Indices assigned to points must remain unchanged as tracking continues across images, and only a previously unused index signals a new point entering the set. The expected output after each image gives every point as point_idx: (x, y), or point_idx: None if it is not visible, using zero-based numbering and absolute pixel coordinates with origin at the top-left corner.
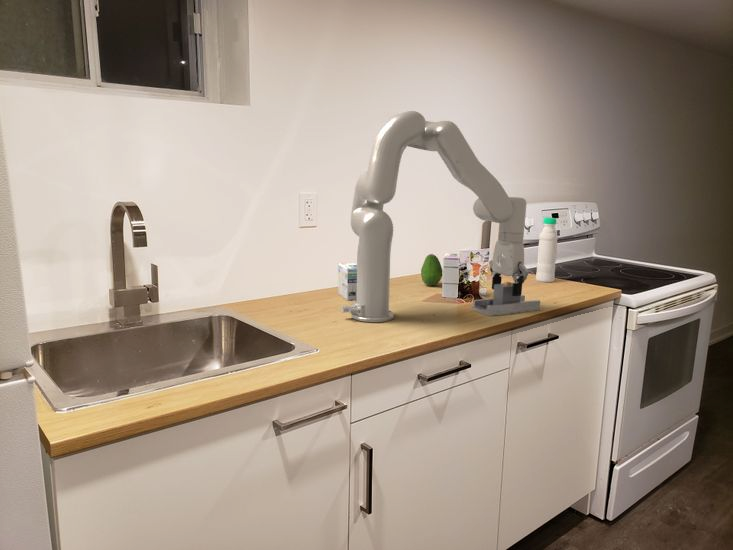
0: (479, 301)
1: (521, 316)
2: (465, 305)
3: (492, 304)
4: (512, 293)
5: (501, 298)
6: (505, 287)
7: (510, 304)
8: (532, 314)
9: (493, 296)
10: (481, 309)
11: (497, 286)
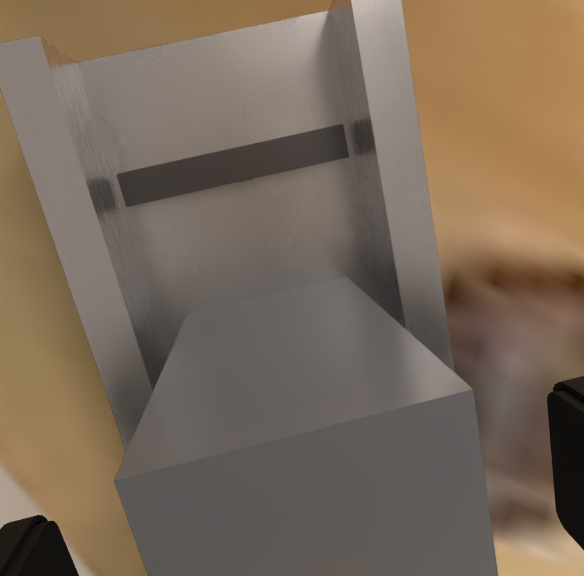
0: (358, 71)
1: (18, 437)
2: (557, 27)
3: (380, 288)
4: (11, 542)
5: (191, 355)
6: (135, 527)
7: (121, 422)
8: (88, 563)
9: (376, 305)
10: (208, 52)
11: (340, 408)
